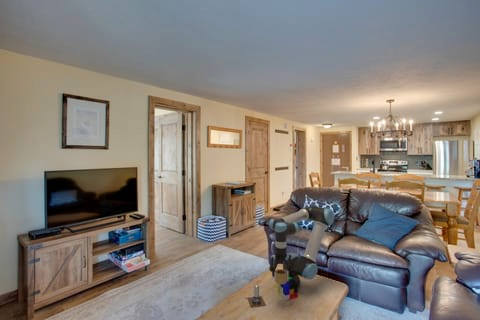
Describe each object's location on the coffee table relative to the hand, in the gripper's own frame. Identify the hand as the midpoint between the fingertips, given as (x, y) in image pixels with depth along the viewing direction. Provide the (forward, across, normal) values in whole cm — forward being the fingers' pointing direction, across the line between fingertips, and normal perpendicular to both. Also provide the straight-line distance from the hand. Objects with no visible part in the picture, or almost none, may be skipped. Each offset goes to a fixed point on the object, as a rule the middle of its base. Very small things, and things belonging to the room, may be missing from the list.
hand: (280, 280), depth 165 cm
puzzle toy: (+17, +9, +10) cm, 21 cm away
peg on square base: (+16, -15, +6) cm, 23 cm away
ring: (0, 0, 0) cm, 0 cm away
